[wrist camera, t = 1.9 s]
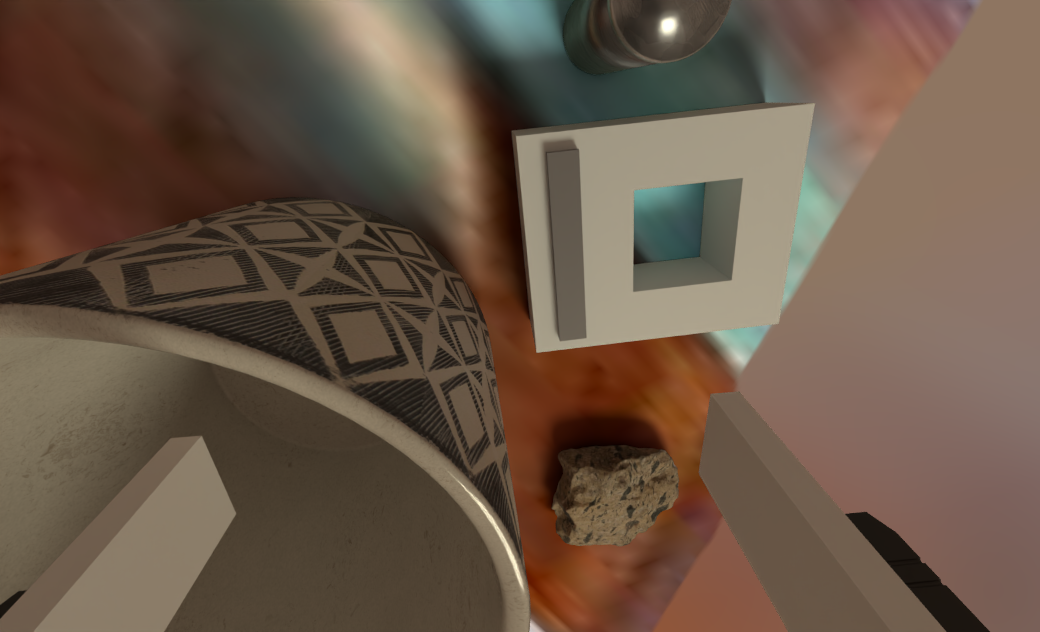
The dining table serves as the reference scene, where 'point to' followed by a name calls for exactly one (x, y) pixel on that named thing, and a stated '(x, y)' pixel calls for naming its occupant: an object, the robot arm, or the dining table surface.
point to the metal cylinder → (638, 31)
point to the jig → (610, 222)
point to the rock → (612, 493)
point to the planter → (271, 418)
